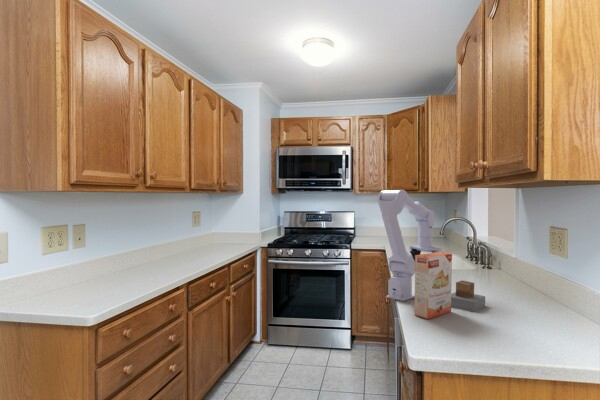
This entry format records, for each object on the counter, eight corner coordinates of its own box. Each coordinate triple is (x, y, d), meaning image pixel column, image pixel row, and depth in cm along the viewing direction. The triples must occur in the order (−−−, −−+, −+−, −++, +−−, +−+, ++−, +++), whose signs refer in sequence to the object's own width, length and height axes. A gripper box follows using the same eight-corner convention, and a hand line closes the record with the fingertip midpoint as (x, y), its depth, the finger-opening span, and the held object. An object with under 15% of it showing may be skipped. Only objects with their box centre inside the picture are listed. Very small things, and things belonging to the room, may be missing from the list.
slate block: (474, 313, 127) (474, 301, 127) (446, 306, 134) (446, 296, 134) (485, 306, 134) (485, 296, 134) (458, 301, 141) (458, 291, 141)
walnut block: (467, 298, 131) (468, 284, 131) (455, 295, 134) (456, 282, 134) (474, 296, 134) (474, 282, 134) (461, 293, 137) (462, 280, 137)
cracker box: (429, 320, 119) (429, 257, 118) (413, 315, 123) (413, 254, 123) (452, 312, 127) (452, 252, 126) (437, 307, 132) (437, 250, 131)
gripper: (445, 237, 154) (445, 269, 154) (415, 234, 165) (415, 264, 165) (436, 238, 149) (436, 271, 150) (406, 235, 161) (406, 266, 161)
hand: (425, 267), depth 157 cm, fingers open, 7 cm apart
